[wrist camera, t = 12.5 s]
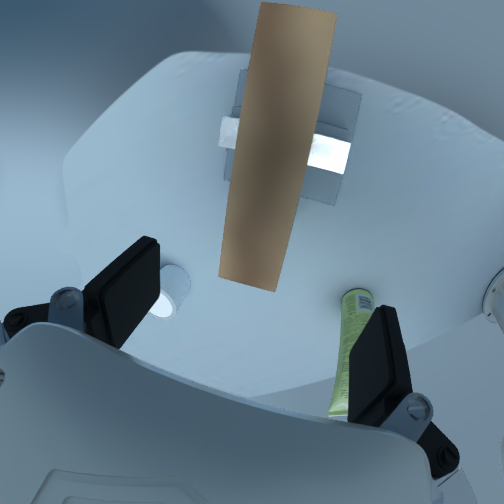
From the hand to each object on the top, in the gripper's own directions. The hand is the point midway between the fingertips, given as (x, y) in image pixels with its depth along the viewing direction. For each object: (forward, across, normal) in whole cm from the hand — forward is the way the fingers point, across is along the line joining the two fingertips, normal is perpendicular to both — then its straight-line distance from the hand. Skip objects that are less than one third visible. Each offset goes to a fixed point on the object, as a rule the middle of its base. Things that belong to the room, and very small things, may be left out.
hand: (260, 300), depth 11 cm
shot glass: (+26, +16, +22) cm, 38 cm away
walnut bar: (+17, +2, -4) cm, 18 cm away
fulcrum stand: (+26, +2, -4) cm, 26 cm away
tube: (+26, -13, +17) cm, 34 cm away
